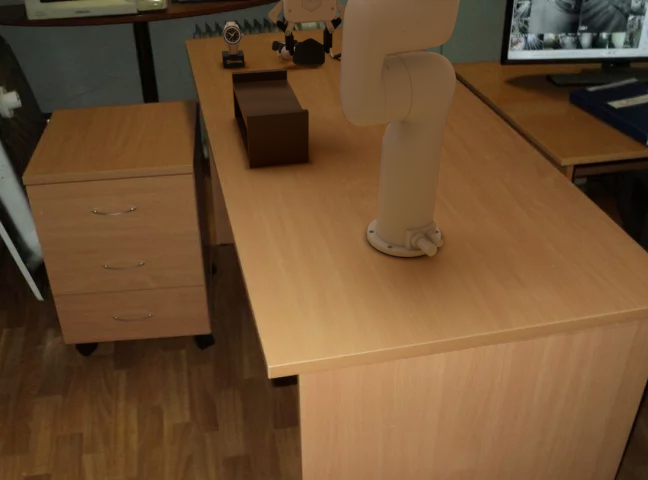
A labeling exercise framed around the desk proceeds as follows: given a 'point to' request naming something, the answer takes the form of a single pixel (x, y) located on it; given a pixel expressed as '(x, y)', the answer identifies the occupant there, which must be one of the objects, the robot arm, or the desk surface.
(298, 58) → the gaming mouse
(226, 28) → the watch
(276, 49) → the clip-on lamp
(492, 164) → the desk surface
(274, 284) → the desk surface
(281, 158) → the shelf
